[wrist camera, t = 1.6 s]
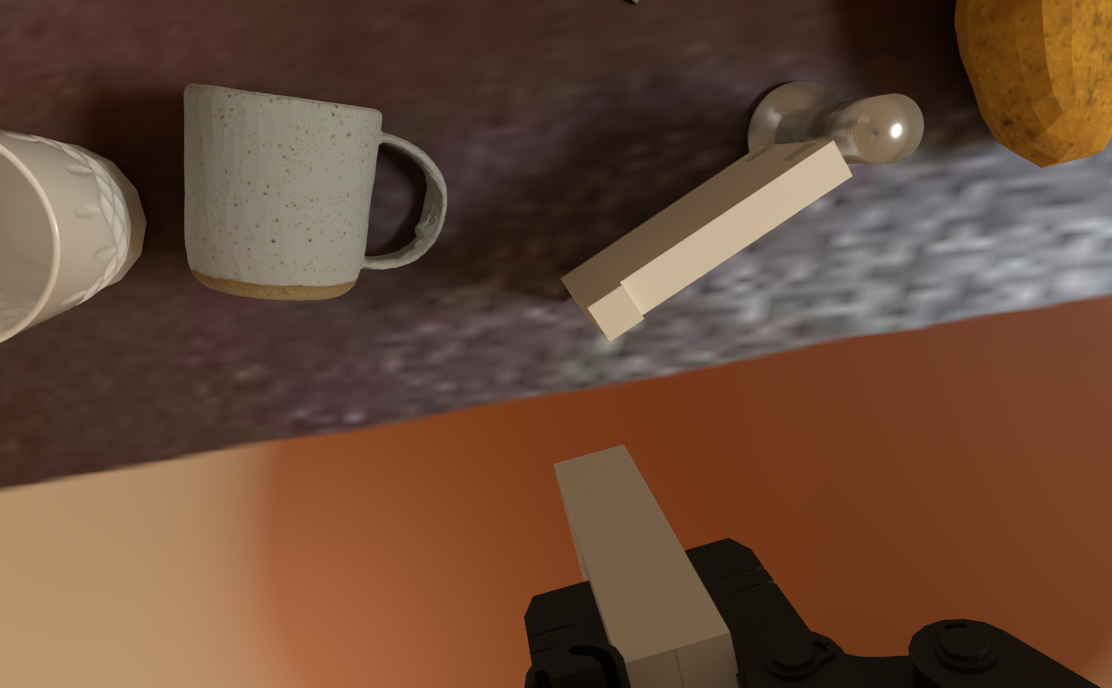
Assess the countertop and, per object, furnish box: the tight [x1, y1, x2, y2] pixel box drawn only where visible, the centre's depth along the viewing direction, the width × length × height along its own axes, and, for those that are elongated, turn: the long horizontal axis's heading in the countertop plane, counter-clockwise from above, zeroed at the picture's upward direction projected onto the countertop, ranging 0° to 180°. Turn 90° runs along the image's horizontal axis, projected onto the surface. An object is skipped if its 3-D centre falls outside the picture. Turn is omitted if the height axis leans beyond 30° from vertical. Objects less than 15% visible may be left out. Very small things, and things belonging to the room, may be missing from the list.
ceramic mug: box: [184, 83, 447, 301], centre depth 35 cm, size 11×8×8 cm
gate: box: [560, 140, 852, 342], centre depth 36 cm, size 12×2×9 cm, turn 123°
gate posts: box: [631, 0, 924, 164], centre depth 33 cm, size 18×5×12 cm, turn 44°
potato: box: [954, 0, 1112, 168], centre depth 37 cm, size 8×14×7 cm, turn 7°
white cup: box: [0, 129, 147, 342], centre depth 33 cm, size 8×8×10 cm
